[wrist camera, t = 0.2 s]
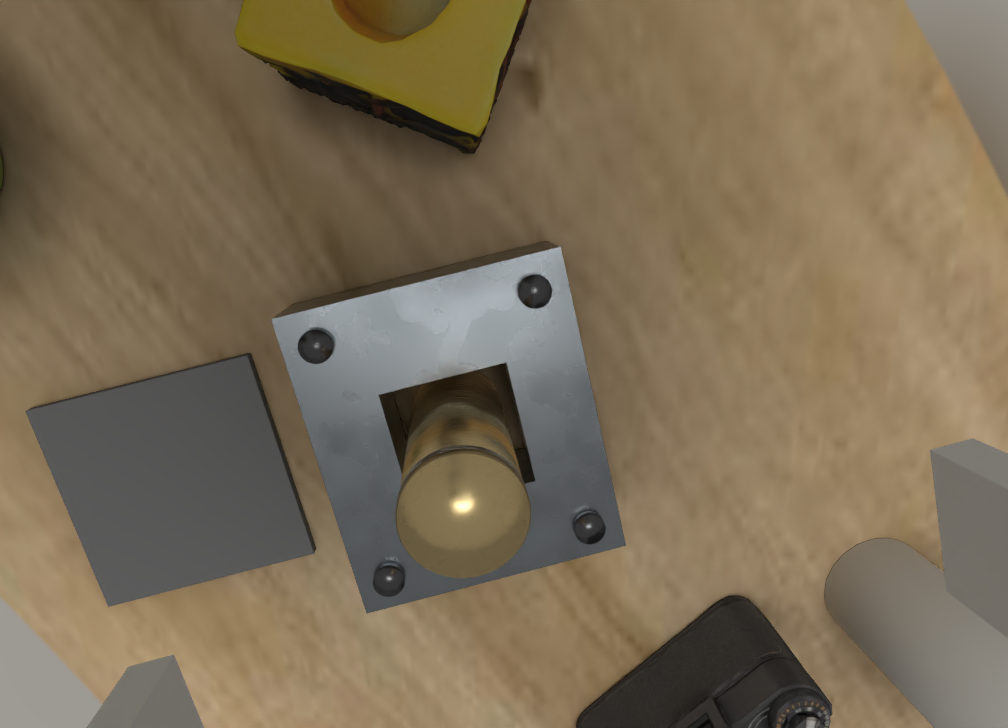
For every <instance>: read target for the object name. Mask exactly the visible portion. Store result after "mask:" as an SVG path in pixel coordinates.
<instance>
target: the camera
mask: <svg viewBox="0 0 1008 728" xmlns="http://www.w3.org/2000/svg"><path fill="white" fill-rule="evenodd" d="M831 715H832V704H831V703H830V701H829V700H828V699H827V697H826V696H825V695H824V693H823V692H822V691H821V689H820V688H819V687H818V685H817V684H816V683H815V682H814V680H813V679H812V678H811V677H810V675H809V674H808V673H807V672H806V671H805V669H804V668H803V666H802V665H801V663H800V662H799V661H798V659H797V658H796V657H795V655H794V654H793V653H792V651H791V650H790V649H789V647H788V646H787V645H786V643H785V642H784V641H783V639H782V638H781V636H780V635H779V634H778V633H777V631H776V630H775V629H774V627H773V626H772V625H771V623H770V622H769V621H768V619H767V618H766V617H765V616H764V615H763V614H762V612H761V611H760V610H759V609H758V608H757V607H756V606H755V605H754V604H753V603H752V602H751V601H750V600H748V599H746V598H744V597H738V596H736V597H728V598H725V599H722V600H721V601H719V602H718V603H717V604H715V605H714V606H713V607H711V608H710V609H709V610H708V611H706V612H705V613H704V614H703V615H701V616H700V617H699V618H698V619H696V620H695V621H694V622H693V623H692V624H690V625H689V626H688V627H687V628H685V629H684V630H683V631H682V632H681V633H679V634H678V635H677V636H675V637H674V638H673V639H672V640H670V641H669V642H668V643H667V644H665V645H664V646H663V647H662V648H661V649H659V650H658V651H657V652H656V653H655V654H653V655H652V656H651V657H649V658H648V659H647V660H646V661H644V662H643V663H642V664H641V665H639V666H638V667H637V668H636V669H635V670H634V671H632V672H631V673H630V674H629V675H628V676H626V677H625V678H624V679H623V680H622V681H620V682H619V683H618V684H616V685H615V686H613V687H612V688H611V689H610V690H609V691H608V692H606V693H605V694H604V695H603V696H602V697H600V698H599V699H598V700H596V701H595V702H594V703H593V704H592V705H591V706H590V707H588V708H587V709H586V710H585V711H584V712H582V713H581V715H580V716H579V718H578V721H577V725H576V728H829V725H830V716H831Z"/></svg>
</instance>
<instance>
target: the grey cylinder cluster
mask: <svg viewBox="0 0 1008 728" xmlns="http://www.w3.org/2000/svg"><path fill="white" fill-rule="evenodd" d="M824 597H825V602H826V607H827V610H828V611H829V613H830V614H831V616H832V617H833V619H834V620H835V621H836V622H837V623H838V625H839V626H840V627H841V628H842V629H843V630H844V631H845V632H846V633H847V634H848V635H849V636H850V638H851V639H852V640H853V641H854V642H855V643H856V644H857V645H858V646H859V647H860V648H861V649H862V650H863V652H864V653H865V654H866V655H867V656H868V657H869V658H870V659H871V660H872V661H873V662H874V663H875V664H876V666H877V667H878V668H879V669H880V670H881V671H882V672H883V673H884V674H885V675H886V676H887V677H888V678H889V680H890V681H891V682H892V683H893V684H894V685H895V686H896V687H897V688H898V689H899V690H900V691H901V692H902V694H903V695H904V696H905V697H906V698H907V699H908V700H909V701H910V702H911V703H912V704H913V705H914V707H915V708H916V709H917V710H918V711H919V712H920V713H921V714H922V715H923V716H924V717H925V718H926V719H927V721H928V722H929V723H930V724H931V725H932V726H933V727H934V728H1008V638H1007V637H1005V636H1004V635H1003V634H1001V633H1000V632H999V631H997V630H996V629H995V628H994V627H992V626H991V625H990V624H988V623H987V622H986V621H984V620H983V619H982V618H980V617H979V616H978V615H977V614H975V613H974V612H973V611H971V610H970V609H969V608H967V607H966V606H965V605H964V604H962V603H961V602H960V601H958V600H957V599H956V598H954V597H953V596H952V595H951V594H949V593H948V592H947V591H946V582H945V574H944V572H943V571H942V570H940V569H939V568H938V567H936V566H935V565H934V564H932V563H931V562H930V561H928V560H927V559H926V558H924V557H923V556H922V555H920V554H919V553H918V552H916V551H915V550H914V549H912V548H911V547H910V546H908V545H907V544H906V543H904V542H901V541H898V540H894V539H891V538H881V539H872V540H869V541H866V542H863V543H860V544H858V545H856V546H855V547H853V548H852V549H850V550H849V551H847V552H846V553H844V554H843V555H842V557H841V558H840V559H839V560H838V561H837V562H836V563H835V564H834V566H833V567H832V569H831V571H830V574H829V576H828V578H827V580H826V585H825V592H824Z"/></svg>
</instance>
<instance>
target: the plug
mask: <svg viewBox="0 0 1008 728" xmlns="http://www.w3.org/2000/svg"><path fill="white" fill-rule="evenodd" d="M395 520H396V528H397V532H398V535H399V538H400V541H401V543H402V544H403V546H404V548H405V550H406V551H407V552H408V554H409V555H410V556H411V557H412V558H413V559H414V560H415V561H416V562H417V563H419V564H420V565H421V566H423V567H424V568H426V569H428V570H429V571H432V572H434V573H436V574H439V575H443V576H446V577H452V578H472V577H477V576H481V575H484V574H487V573H490V572H492V571H494V570H496V569H498V568H499V567H501V566H503V565H504V564H505V563H506V562H508V561H509V560H510V559H511V558H512V557H513V556H514V555H515V554H516V553H517V552H518V550H519V549H520V548H521V546H522V544H523V543H524V541H525V539H526V536H527V534H528V531H529V527H530V522H531V505H530V499H529V496H528V492H527V489H526V486H525V483H524V481H523V479H522V476H521V472H520V469H519V465H518V461H517V458H516V454H515V451H514V447H513V444H512V440H511V437H510V433H509V429H508V426H507V422H506V419H505V415H504V412H503V408H502V404H501V401H500V398H499V395H498V392H497V390H496V388H495V387H494V385H493V384H492V383H491V382H490V380H489V379H487V378H486V377H485V376H484V375H482V374H481V373H479V372H477V371H471V372H467V373H463V374H459V375H455V376H451V377H447V378H443V379H439V380H435V381H431V382H427V383H423V384H421V386H420V387H419V389H418V390H417V392H416V395H415V398H414V402H413V407H412V414H411V420H410V427H409V434H408V440H407V447H406V454H405V460H404V467H403V474H402V480H401V487H400V490H399V494H398V498H397V504H396V514H395Z"/></svg>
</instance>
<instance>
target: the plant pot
mask: <svg viewBox="0 0 1008 728" xmlns="http://www.w3.org/2000/svg"><path fill="white" fill-rule="evenodd" d="M2 180H3V164H2V156H1V152H0V190H1V186H2Z"/></svg>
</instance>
